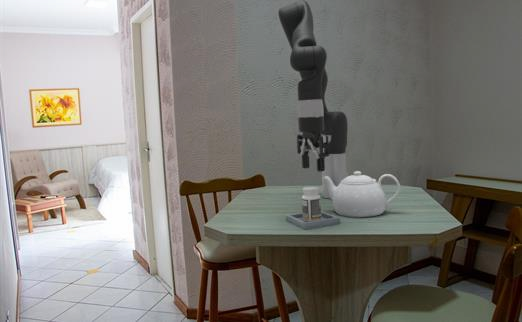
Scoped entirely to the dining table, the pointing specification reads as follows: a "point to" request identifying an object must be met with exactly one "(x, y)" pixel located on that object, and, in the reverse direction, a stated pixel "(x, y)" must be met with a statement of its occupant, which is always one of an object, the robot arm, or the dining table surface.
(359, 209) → the teapot
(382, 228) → the dining table surface
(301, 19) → the robot arm
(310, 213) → the pill bottle
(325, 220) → the dish
